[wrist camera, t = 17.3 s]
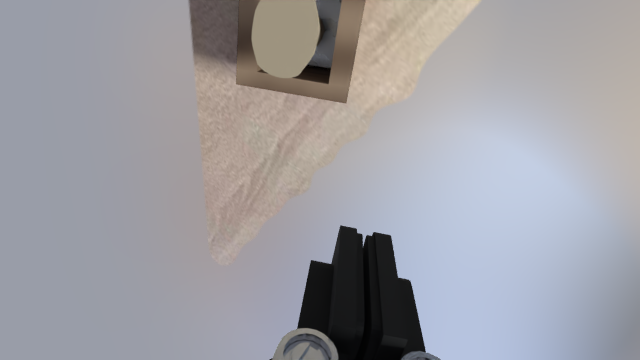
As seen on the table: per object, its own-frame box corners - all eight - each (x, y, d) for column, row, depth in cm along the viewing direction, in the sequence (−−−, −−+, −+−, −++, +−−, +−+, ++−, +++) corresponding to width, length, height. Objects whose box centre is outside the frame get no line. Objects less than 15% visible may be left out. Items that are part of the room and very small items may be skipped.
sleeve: (269, -32, 36) (240, -50, 27) (367, -16, 36) (370, -29, 27) (262, 70, 41) (236, 84, 32) (348, 85, 41) (346, 103, 32)
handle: (284, 53, 39) (246, 68, 25) (295, -7, 36) (259, -26, 23) (323, 63, 39) (306, 85, 25) (337, 4, 36) (326, -7, 23)
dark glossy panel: (288, -10, 37) (286, -11, 36) (343, -1, 37) (343, -1, 36) (281, 59, 40) (280, 59, 39) (332, 67, 40) (332, 68, 39)
